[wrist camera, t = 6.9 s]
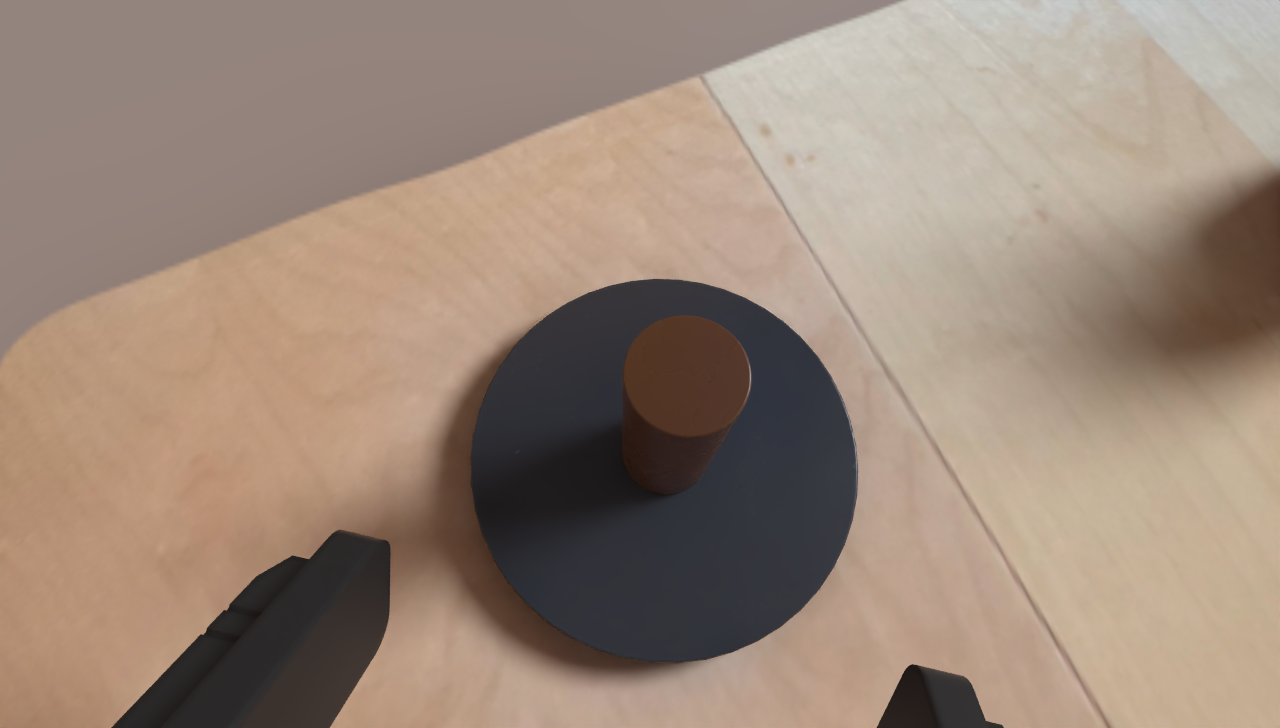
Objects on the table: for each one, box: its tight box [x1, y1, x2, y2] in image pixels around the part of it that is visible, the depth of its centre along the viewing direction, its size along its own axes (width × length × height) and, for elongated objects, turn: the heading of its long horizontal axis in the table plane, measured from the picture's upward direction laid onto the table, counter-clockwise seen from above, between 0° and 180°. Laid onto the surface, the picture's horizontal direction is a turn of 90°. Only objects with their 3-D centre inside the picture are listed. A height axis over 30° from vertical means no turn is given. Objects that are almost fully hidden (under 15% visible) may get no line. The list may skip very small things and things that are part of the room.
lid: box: [470, 279, 858, 663], centre depth 17 cm, size 12×12×8 cm
